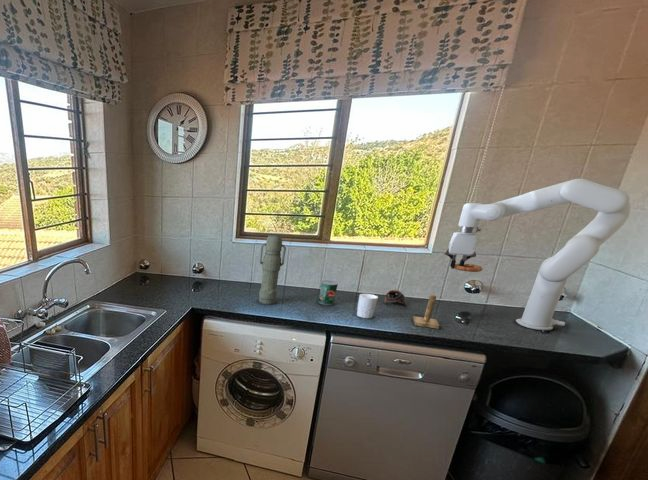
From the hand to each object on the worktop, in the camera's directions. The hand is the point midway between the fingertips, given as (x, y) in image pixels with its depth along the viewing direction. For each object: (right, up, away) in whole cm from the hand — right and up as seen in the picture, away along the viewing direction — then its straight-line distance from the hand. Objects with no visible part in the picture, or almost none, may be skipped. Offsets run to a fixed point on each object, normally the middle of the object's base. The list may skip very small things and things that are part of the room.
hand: (456, 268), depth 196 cm
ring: (+4, 0, -2) cm, 5 cm away
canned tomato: (-57, -16, +16) cm, 61 cm away
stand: (-24, -27, -13) cm, 39 cm away
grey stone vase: (-88, -16, +16) cm, 91 cm away
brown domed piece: (-22, -17, +15) cm, 31 cm away
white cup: (-47, -24, -4) cm, 53 cm away
